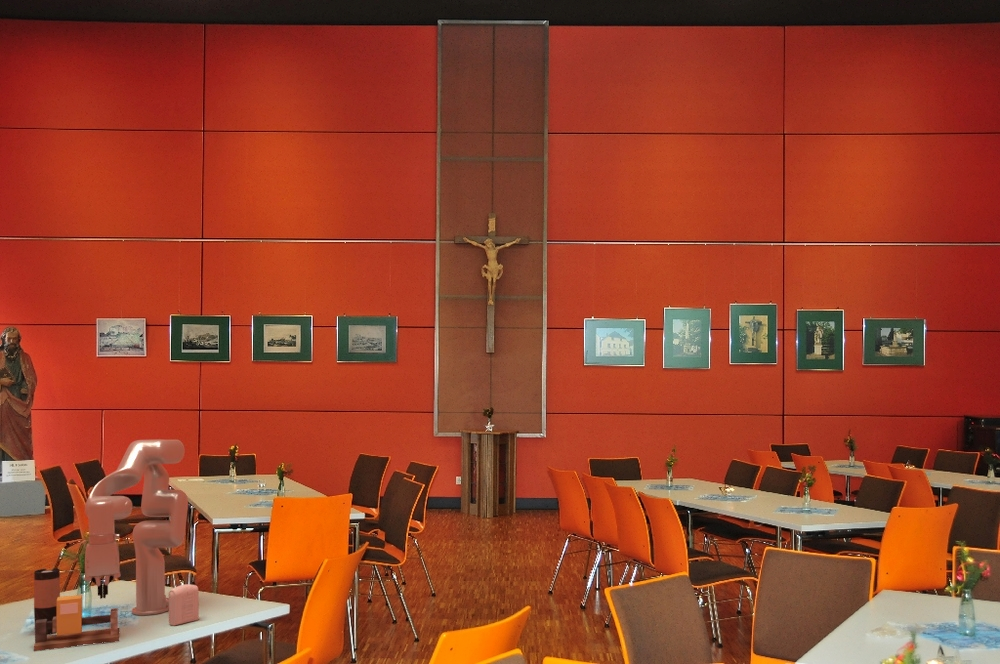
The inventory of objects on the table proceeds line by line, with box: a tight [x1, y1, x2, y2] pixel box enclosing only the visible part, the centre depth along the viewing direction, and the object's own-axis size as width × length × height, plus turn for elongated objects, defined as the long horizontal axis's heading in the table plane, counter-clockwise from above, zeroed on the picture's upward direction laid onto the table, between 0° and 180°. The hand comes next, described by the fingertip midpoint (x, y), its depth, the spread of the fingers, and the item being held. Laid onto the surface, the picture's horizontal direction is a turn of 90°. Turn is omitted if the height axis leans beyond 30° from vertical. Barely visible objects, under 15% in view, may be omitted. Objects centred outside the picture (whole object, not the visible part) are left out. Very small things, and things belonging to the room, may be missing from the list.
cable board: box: [33, 607, 120, 652], centre depth 301 cm, size 24×12×8 cm, turn 111°
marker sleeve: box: [56, 594, 83, 635], centre depth 300 cm, size 7×6×11 cm
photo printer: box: [168, 583, 200, 626], centre depth 322 cm, size 10×4×12 cm, turn 144°
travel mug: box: [33, 567, 61, 635], centre depth 313 cm, size 8×8×20 cm
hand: (102, 597), depth 304 cm, fingers closed
